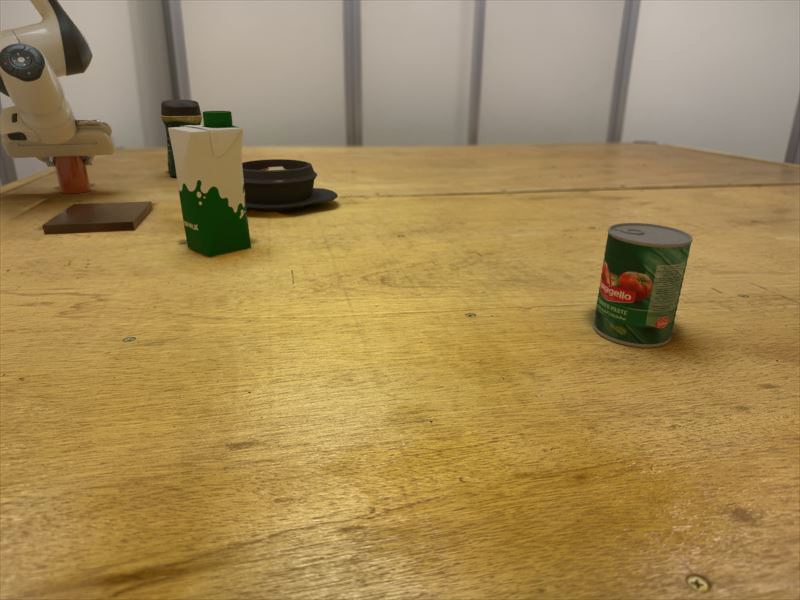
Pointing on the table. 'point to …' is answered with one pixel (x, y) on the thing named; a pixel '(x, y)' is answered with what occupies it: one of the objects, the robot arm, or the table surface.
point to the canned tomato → (641, 283)
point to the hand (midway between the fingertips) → (70, 163)
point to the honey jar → (72, 174)
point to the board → (98, 217)
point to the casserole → (281, 185)
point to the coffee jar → (178, 121)
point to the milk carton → (211, 184)
